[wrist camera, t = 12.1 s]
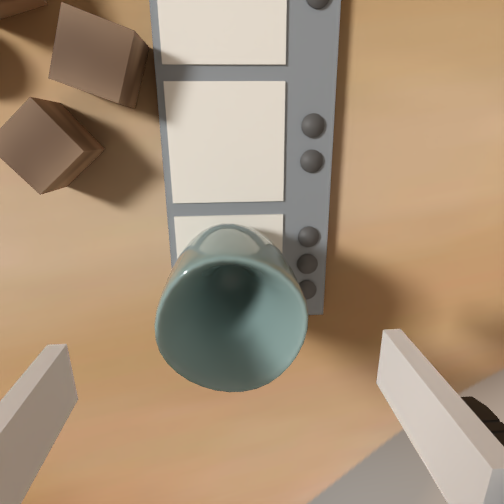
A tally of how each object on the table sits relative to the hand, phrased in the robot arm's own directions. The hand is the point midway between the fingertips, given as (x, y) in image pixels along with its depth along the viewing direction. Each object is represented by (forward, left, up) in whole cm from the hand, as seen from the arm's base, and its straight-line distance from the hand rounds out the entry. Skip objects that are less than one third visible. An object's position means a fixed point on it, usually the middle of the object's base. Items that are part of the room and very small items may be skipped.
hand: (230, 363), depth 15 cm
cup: (0, 0, -13) cm, 13 cm away
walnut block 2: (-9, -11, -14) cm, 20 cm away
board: (-9, +2, -14) cm, 17 cm away
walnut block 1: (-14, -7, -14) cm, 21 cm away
